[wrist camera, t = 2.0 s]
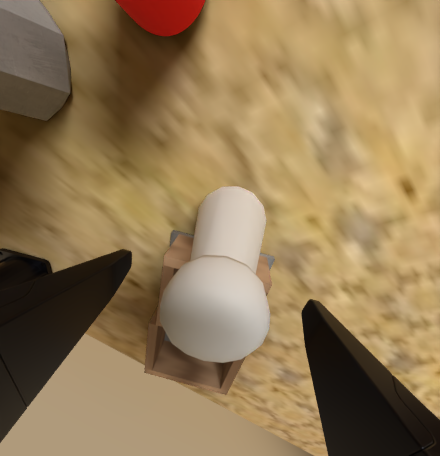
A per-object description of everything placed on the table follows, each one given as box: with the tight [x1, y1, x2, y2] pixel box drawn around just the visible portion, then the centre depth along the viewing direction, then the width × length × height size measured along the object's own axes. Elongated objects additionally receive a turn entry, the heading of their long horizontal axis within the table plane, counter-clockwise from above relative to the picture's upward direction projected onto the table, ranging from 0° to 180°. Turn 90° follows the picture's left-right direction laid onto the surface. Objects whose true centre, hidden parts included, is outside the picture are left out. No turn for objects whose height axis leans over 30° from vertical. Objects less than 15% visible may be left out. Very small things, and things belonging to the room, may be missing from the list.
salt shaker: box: [160, 186, 270, 363], centre depth 12 cm, size 6×6×13 cm
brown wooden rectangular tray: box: [145, 230, 275, 395], centre depth 22 cm, size 11×19×4 cm, turn 167°
